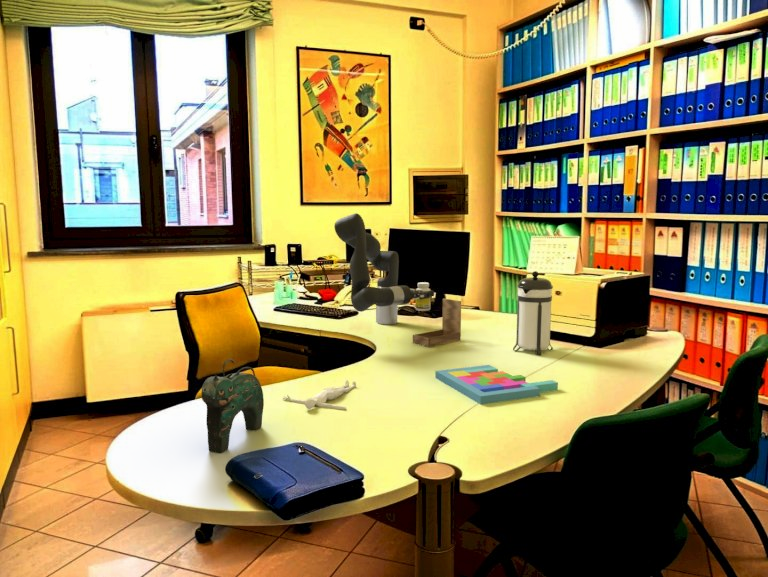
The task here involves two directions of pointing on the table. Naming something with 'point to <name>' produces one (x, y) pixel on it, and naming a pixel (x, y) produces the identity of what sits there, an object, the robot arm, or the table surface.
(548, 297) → the coffee press
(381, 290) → the robot arm
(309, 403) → the figure model
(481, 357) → the table surface
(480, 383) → the tetris game
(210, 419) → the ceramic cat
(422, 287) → the pill bottle
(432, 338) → the brown angle bracket
